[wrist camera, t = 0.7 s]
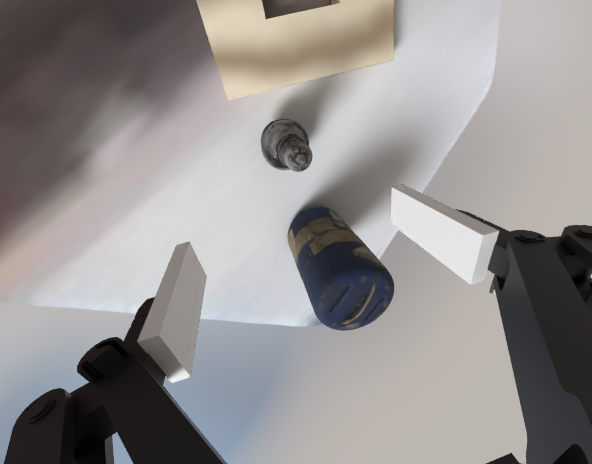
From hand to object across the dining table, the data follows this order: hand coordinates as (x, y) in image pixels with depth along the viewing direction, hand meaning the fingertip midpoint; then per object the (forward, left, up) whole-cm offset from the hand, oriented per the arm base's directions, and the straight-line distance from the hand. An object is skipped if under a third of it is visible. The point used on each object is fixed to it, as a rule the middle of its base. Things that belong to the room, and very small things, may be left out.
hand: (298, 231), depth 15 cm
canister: (+13, +5, -21) cm, 25 cm away
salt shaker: (-2, +3, -21) cm, 21 cm away
